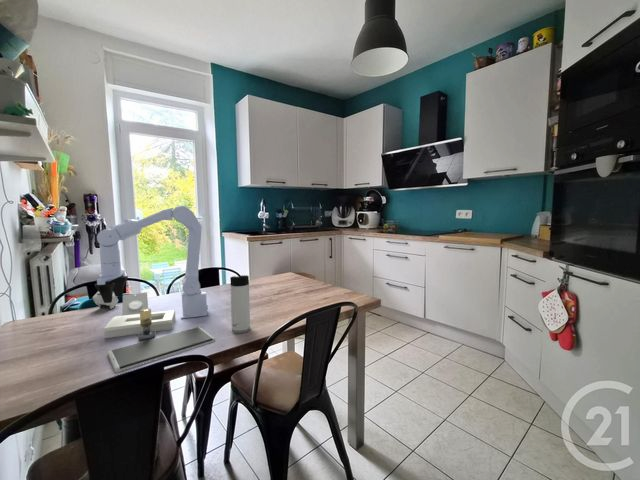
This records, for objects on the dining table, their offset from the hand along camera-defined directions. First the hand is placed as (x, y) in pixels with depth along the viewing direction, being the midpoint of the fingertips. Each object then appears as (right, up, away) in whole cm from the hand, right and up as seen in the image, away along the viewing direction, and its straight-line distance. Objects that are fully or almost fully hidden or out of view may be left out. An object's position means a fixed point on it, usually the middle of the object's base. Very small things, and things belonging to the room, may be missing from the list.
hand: (113, 299), depth 104 cm
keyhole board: (+11, -10, 0) cm, 15 cm away
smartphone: (+27, -13, -15) cm, 33 cm away
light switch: (+1, -9, +11) cm, 14 cm away
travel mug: (+47, -11, -3) cm, 48 cm away
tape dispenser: (-17, -8, +20) cm, 28 cm away
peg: (+17, -11, -9) cm, 22 cm away
